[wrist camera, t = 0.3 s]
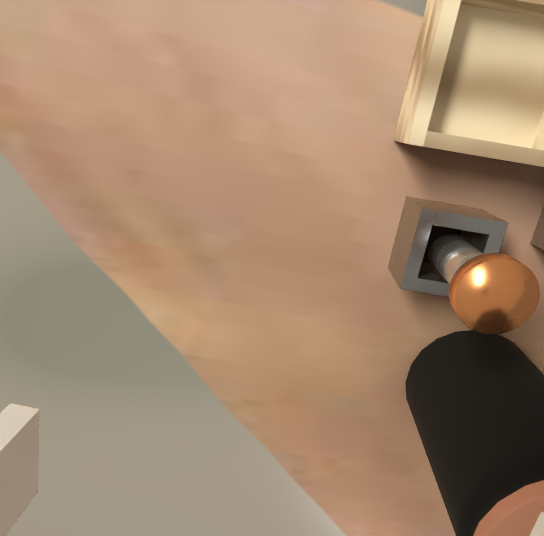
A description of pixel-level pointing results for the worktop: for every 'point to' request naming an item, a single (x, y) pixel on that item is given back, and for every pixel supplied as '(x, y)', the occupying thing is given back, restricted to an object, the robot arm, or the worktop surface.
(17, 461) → the robot arm
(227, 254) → the worktop surface
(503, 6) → the wooden box
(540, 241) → the grey flat block
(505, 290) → the orange light bulb
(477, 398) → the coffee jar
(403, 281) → the housing
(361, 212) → the worktop surface
